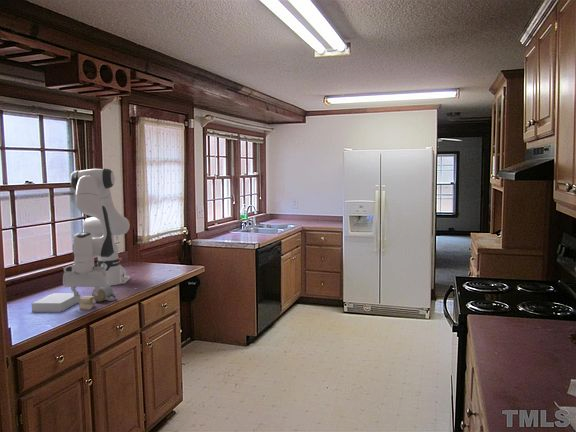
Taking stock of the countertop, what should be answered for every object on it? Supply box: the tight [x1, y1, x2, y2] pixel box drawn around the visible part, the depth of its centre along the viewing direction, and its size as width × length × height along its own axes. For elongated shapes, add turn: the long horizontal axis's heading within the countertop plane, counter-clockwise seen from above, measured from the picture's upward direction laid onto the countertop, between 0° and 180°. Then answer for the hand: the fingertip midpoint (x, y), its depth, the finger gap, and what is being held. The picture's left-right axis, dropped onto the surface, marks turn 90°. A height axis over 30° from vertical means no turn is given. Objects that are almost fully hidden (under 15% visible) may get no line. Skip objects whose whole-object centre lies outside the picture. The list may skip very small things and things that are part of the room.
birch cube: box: [78, 295, 96, 310], centre depth 226 cm, size 5×5×5 cm
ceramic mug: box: [91, 284, 117, 303], centre depth 238 cm, size 11×8×8 cm
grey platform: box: [31, 292, 81, 313], centre depth 229 cm, size 18×14×4 cm
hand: (85, 295), depth 225 cm, fingers open, 8 cm apart
